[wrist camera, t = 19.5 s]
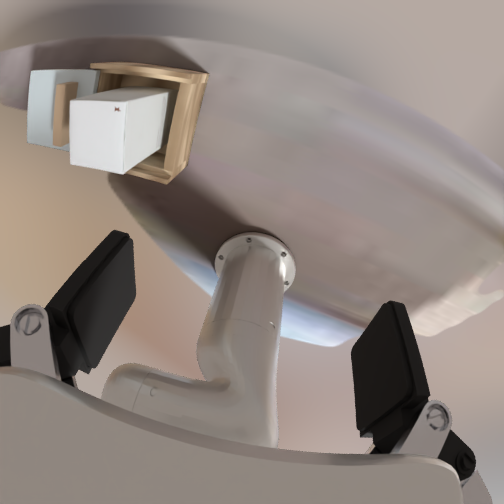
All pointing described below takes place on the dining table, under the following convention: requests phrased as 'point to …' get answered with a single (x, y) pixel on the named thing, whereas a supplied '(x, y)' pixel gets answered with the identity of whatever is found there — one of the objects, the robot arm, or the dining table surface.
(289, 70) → the dining table surface
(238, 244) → the robot arm
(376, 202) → the dining table surface
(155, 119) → the supplement box
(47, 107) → the lid
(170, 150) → the box
